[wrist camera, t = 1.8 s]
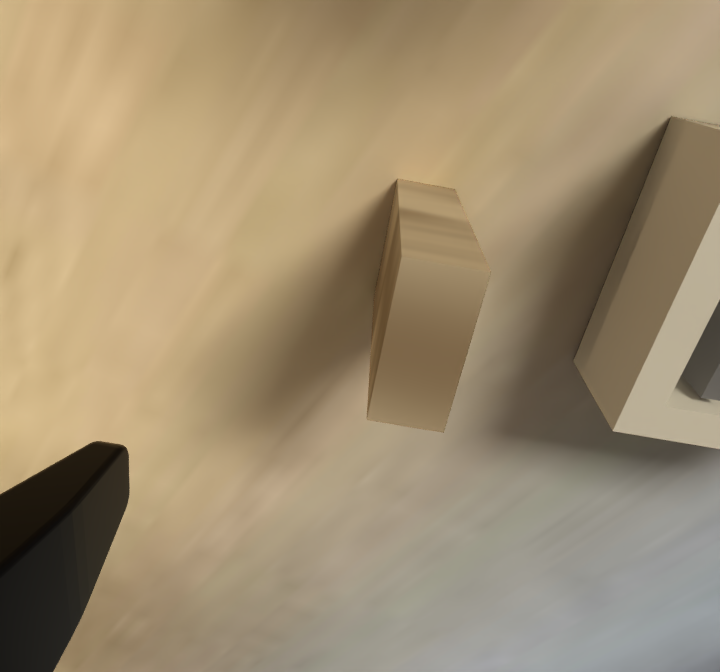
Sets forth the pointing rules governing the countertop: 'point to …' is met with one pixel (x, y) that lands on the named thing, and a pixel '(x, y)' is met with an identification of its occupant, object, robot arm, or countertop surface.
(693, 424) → the white open frame
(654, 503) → the countertop surface
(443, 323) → the tan wooden block
